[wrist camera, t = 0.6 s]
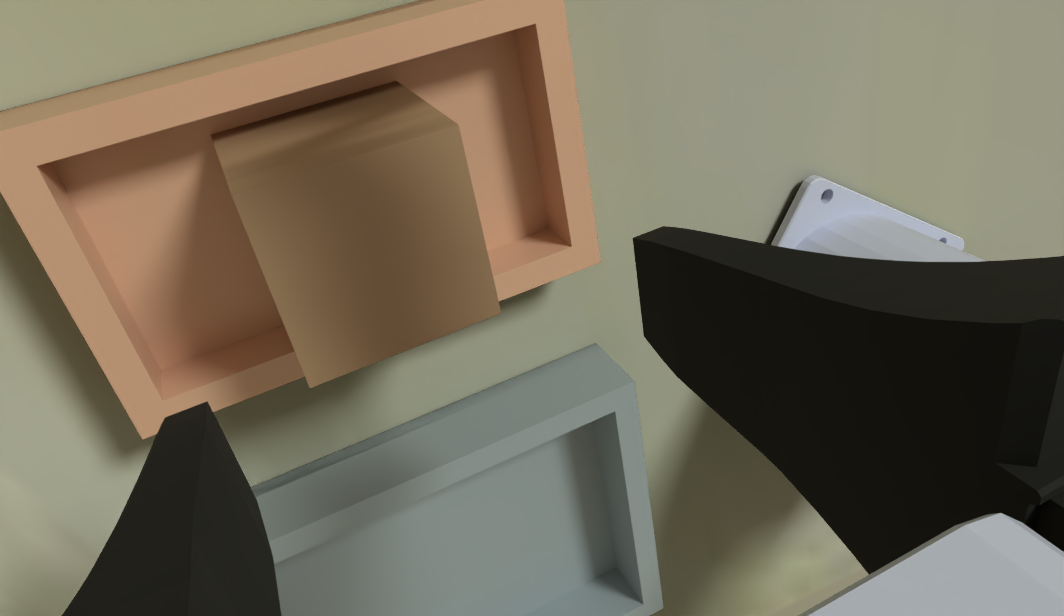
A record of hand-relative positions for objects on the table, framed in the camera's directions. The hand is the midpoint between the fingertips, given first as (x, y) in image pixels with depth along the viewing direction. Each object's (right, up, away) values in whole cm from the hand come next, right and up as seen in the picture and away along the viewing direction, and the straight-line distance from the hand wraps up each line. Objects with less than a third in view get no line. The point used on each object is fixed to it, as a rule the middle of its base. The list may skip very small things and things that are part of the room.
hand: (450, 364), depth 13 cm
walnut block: (-4, +4, +7) cm, 9 cm away
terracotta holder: (-4, +4, +8) cm, 9 cm away
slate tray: (-2, -7, +14) cm, 16 cm away
